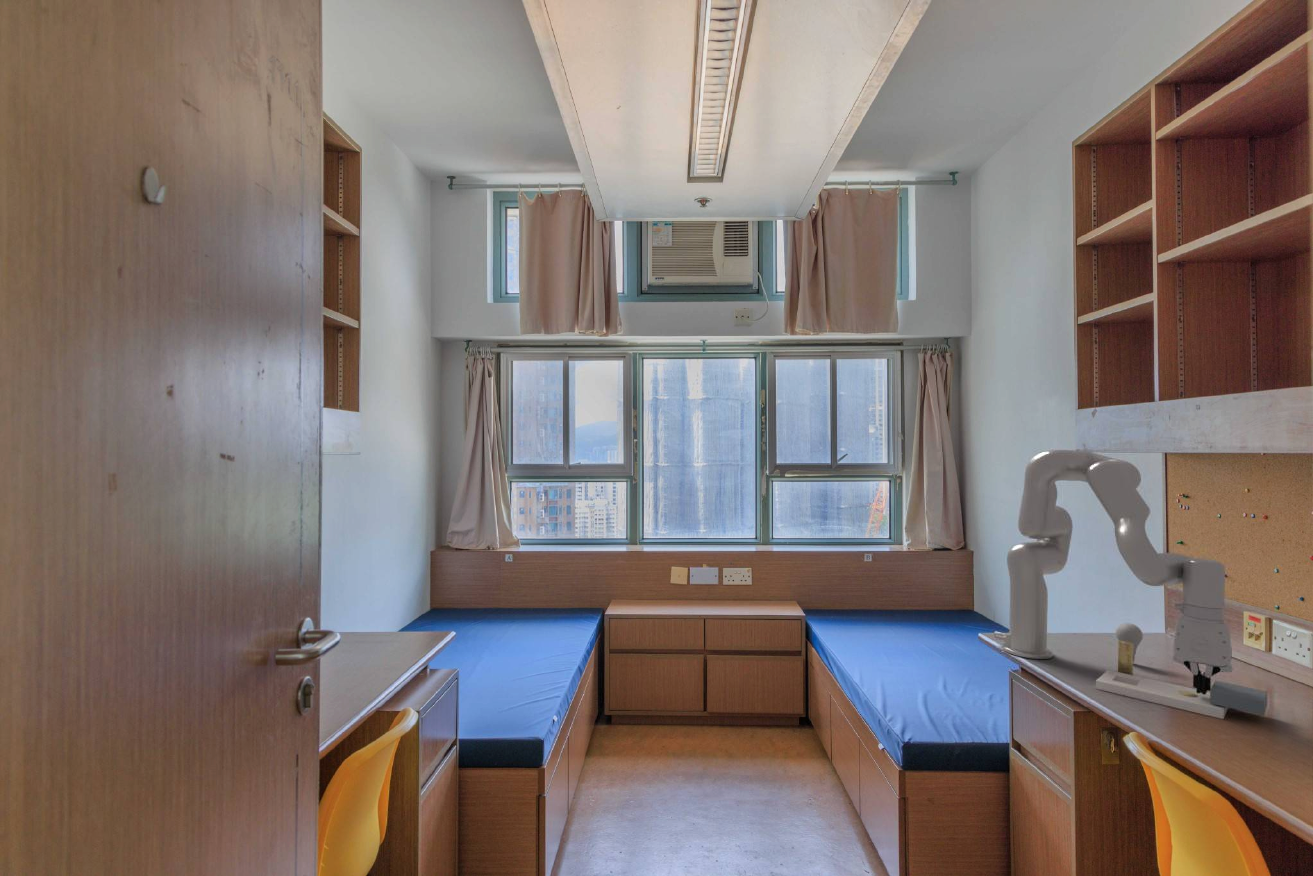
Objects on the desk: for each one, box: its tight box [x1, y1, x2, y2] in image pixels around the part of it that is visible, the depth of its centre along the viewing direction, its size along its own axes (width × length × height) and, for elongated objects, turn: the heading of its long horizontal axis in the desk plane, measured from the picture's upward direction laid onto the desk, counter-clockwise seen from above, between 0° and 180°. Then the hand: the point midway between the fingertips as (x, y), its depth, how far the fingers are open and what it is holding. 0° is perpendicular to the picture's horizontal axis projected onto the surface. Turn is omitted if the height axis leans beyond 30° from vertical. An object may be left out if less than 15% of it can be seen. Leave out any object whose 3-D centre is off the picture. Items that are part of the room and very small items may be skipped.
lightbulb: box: [1115, 622, 1144, 663], centre depth 185 cm, size 6×6×11 cm
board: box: [1095, 669, 1230, 720], centre depth 160 cm, size 24×12×2 cm, turn 44°
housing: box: [1209, 680, 1269, 716], centre depth 150 cm, size 9×9×3 cm
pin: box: [1117, 640, 1134, 676], centre depth 173 cm, size 3×3×9 cm
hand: (1201, 692), depth 154 cm, fingers closed
